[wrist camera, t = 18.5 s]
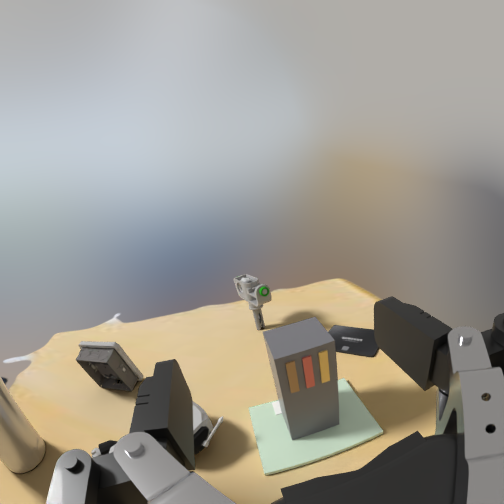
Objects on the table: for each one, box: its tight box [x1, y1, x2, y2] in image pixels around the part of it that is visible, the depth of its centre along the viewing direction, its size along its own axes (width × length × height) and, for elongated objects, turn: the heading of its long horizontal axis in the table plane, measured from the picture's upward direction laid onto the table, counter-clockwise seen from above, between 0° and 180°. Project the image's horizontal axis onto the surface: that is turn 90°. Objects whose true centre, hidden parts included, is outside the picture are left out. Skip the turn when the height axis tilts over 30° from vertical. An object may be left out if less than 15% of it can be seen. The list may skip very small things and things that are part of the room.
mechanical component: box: [234, 274, 271, 330], centre depth 53 cm, size 3×10×10 cm, turn 28°
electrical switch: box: [76, 341, 143, 391], centre depth 40 cm, size 9×5×9 cm, turn 80°
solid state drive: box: [328, 325, 379, 357], centre depth 43 cm, size 7×10×1 cm
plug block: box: [263, 317, 339, 440], centre depth 27 cm, size 6×5×12 cm
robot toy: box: [91, 401, 223, 458], centre depth 26 cm, size 12×4×15 cm
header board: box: [249, 378, 383, 476], centre depth 27 cm, size 13×11×10 cm
